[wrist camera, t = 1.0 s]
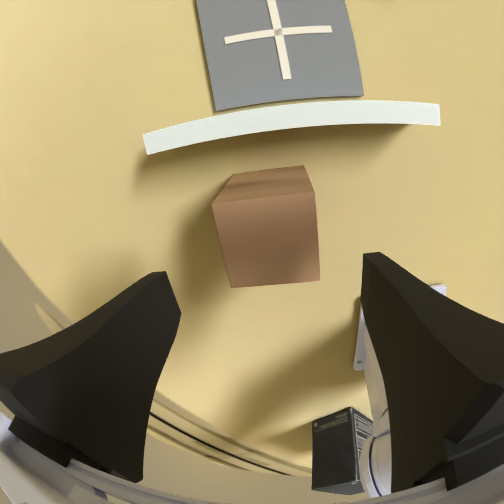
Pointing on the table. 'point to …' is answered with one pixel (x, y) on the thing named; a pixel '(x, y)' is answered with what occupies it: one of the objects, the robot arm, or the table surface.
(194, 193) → the table surface
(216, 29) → the pad
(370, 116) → the frosted wall
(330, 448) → the small box
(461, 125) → the table surface
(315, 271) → the walnut block
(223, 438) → the table surface
